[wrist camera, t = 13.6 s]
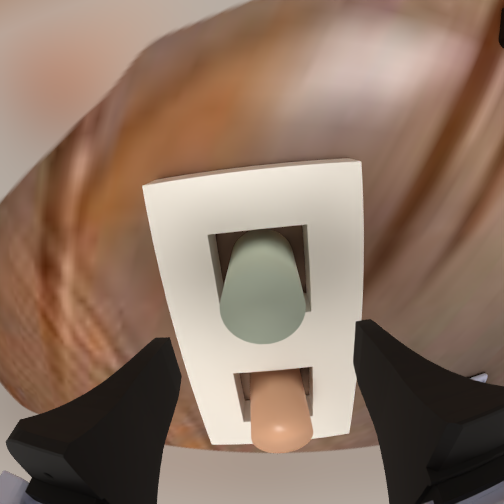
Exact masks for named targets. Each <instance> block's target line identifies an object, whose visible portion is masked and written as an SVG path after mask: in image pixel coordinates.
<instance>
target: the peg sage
mask: <svg viewBox="0 0 504 504" xmlns="http://www.w3.org/2000/svg"><path fill="white" fill-rule="evenodd" d="M305 311H306V304H305V298H304V294H303V290H302V286H301V282H300V278H299V274H298V270H297V266H296V262H295V258H294V254H293V251H292V247H291V245H290V243H289V242H288V240H287V239H286V238H285V237H284V236H283V235H281V234H280V233H278V232H276V231H274V230H271V229H256V230H251V231H249V232H247V233H245V234H244V235H242V236H241V237H240V238H239V239H238V240H237V242H236V243H235V245H234V247H233V250H232V254H231V258H230V262H229V266H228V271H227V275H226V279H225V283H224V287H223V292H222V296H221V300H220V315H221V318H222V321H223V323H224V324H225V326H226V327H227V329H228V330H229V331H230V332H231V333H232V334H233V335H235V336H236V337H238V338H239V339H241V340H244V341H246V342H249V343H254V344H272V343H276V342H279V341H282V340H284V339H286V338H287V337H289V336H290V335H292V334H293V333H294V332H295V331H296V330H297V329H298V328H299V326H300V325H301V323H302V321H303V319H304V316H305Z"/></svg>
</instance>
